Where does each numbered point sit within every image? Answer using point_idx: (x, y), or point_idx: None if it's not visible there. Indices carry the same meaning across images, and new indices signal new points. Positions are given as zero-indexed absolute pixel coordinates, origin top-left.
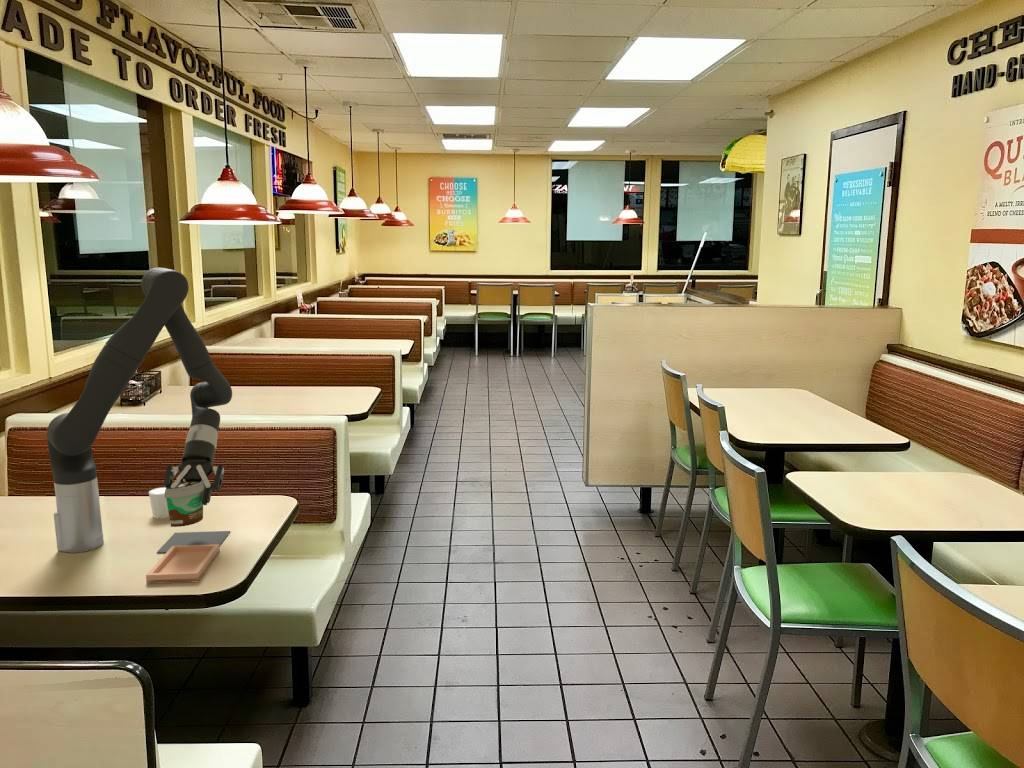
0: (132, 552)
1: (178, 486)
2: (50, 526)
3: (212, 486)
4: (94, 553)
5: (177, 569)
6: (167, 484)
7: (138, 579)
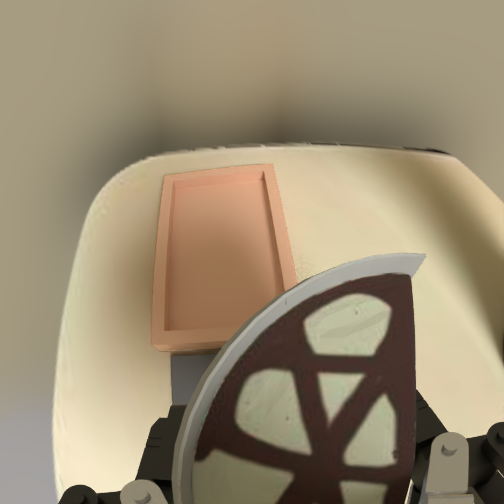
0: (421, 337)
1: (392, 407)
2: None
3: (116, 498)
4: (489, 317)
5: (227, 216)
6: (494, 435)
7: (302, 193)
